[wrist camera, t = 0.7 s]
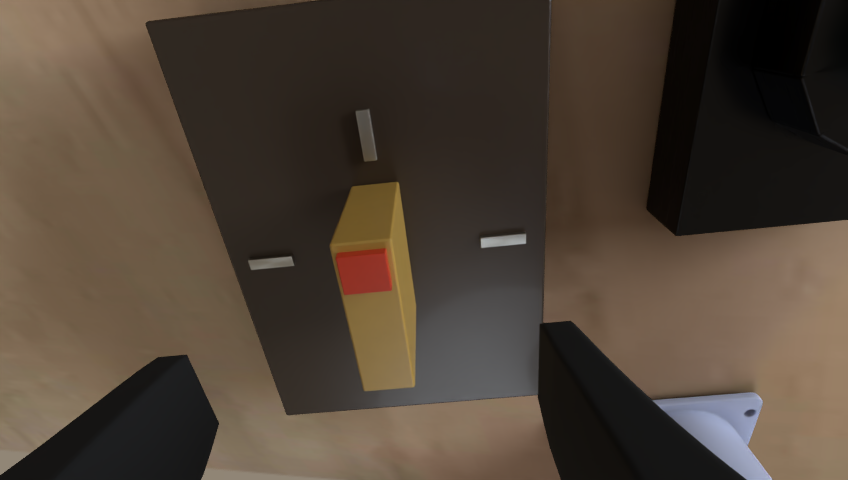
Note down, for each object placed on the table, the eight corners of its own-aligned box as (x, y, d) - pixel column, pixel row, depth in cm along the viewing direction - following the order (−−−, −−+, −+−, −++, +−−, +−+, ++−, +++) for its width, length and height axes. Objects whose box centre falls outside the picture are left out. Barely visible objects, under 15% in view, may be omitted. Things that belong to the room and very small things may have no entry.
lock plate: (525, 342, 20) (542, 398, 17) (303, 361, 20) (285, 419, 17) (526, -21, 13) (554, -29, 10) (197, 18, 13) (139, 22, 11)
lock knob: (416, 306, 15) (415, 395, 11) (375, 310, 15) (361, 400, 12) (398, 180, 13) (391, 244, 9) (350, 185, 13) (326, 250, 9)
